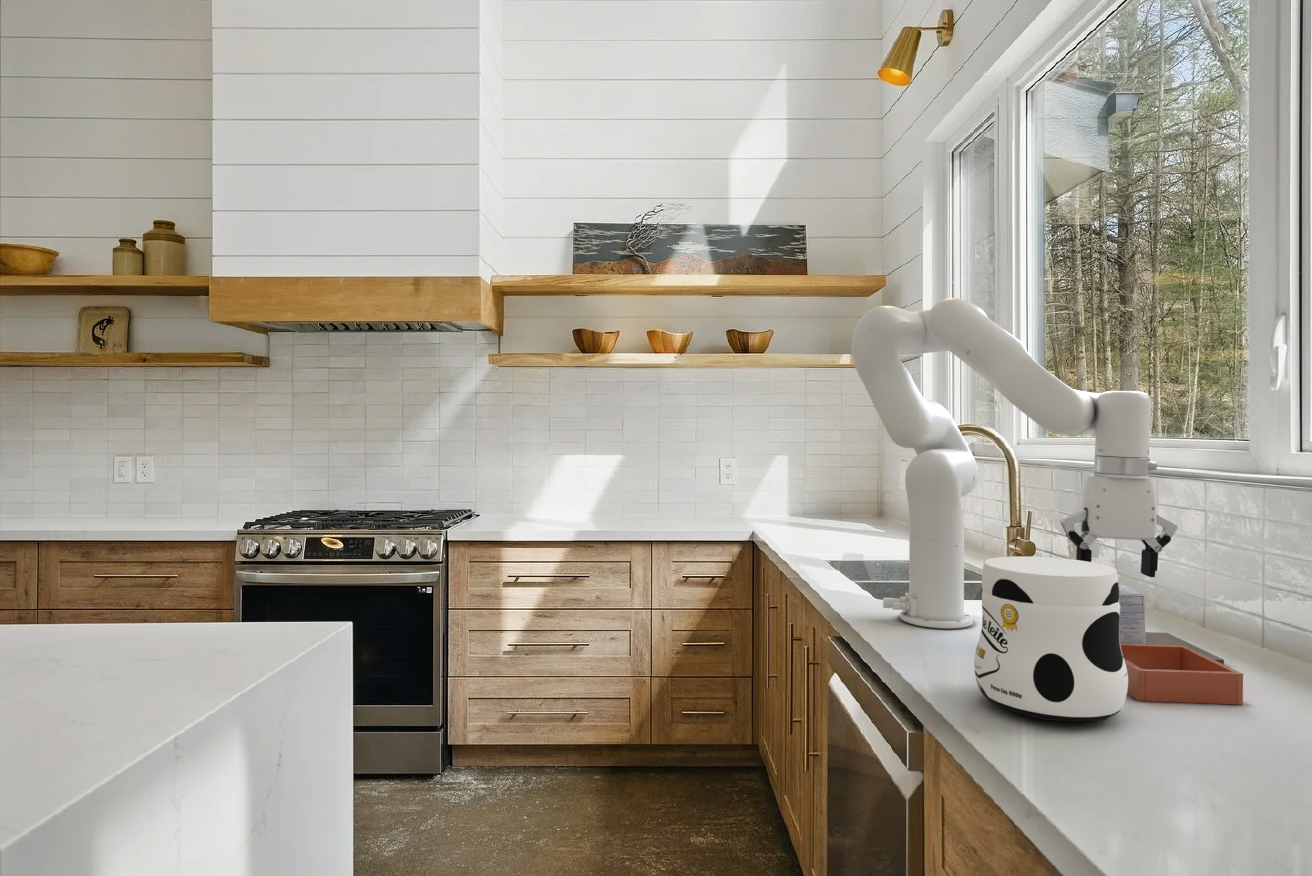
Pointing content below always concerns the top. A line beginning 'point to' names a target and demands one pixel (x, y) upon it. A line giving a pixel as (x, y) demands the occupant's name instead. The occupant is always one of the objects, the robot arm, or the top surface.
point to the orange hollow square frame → (1179, 675)
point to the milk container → (1051, 638)
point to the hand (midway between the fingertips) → (1115, 574)
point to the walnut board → (1175, 643)
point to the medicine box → (1131, 616)
